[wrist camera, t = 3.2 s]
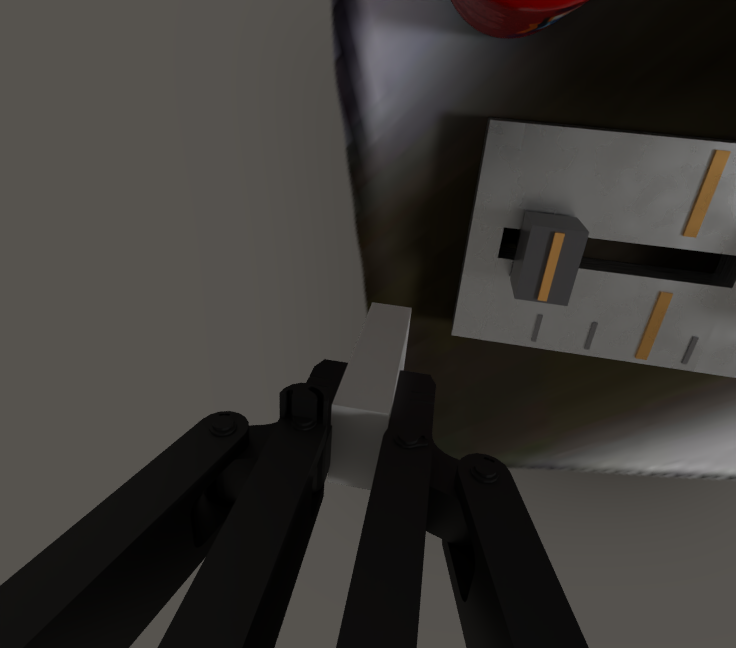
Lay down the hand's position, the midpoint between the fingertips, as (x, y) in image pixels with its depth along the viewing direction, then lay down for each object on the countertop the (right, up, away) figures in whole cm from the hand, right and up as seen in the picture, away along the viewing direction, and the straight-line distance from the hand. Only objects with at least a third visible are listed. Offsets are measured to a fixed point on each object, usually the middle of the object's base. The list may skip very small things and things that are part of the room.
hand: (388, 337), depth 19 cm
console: (+20, +5, +13) cm, 24 cm away
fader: (+10, +6, +14) cm, 18 cm away
